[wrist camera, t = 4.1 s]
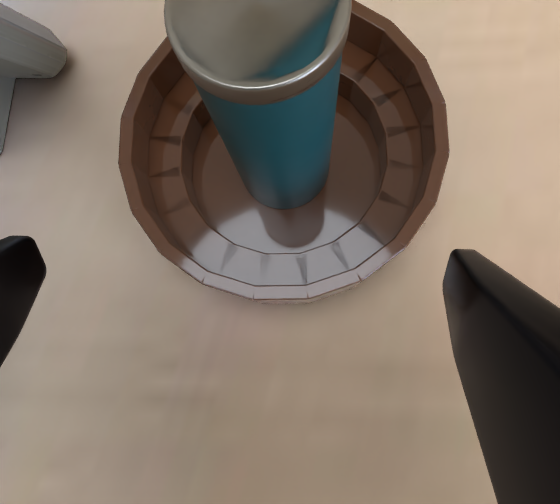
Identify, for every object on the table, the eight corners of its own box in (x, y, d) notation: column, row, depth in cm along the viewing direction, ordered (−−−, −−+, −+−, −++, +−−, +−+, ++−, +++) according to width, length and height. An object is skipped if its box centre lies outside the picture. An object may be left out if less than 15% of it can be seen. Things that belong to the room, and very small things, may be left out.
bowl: (319, 361, 21) (321, 372, 16) (104, 204, 23) (55, 176, 18) (473, 135, 22) (514, 89, 18) (256, 7, 24) (244, -63, 20)
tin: (295, 229, 21) (277, 126, 10) (221, 178, 22) (125, 28, 11) (349, 154, 22) (389, -26, 10) (274, 107, 22) (236, -109, 11)
